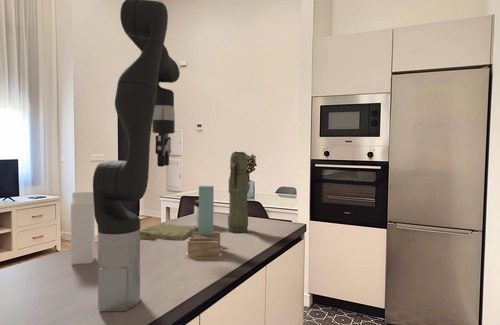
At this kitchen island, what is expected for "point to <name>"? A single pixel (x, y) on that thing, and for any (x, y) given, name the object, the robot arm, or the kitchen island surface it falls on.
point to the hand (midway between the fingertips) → (163, 165)
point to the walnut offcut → (204, 236)
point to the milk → (82, 228)
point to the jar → (196, 213)
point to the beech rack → (204, 247)
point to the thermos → (238, 193)
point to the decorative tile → (167, 232)
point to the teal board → (206, 210)
